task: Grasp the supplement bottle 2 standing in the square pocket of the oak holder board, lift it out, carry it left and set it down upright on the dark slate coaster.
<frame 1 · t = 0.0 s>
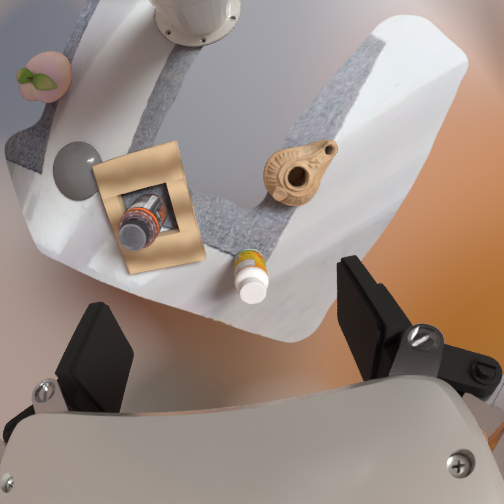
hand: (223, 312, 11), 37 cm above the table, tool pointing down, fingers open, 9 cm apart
supplement bottle: (248, 260, 53), on the table
slate coaster: (78, 170, 42), on the table
pottery oil lamp: (300, 166, 46), on the table
decorative fruit: (61, 77, 34), on the table
supplement bottle 2: (151, 209, 47), resting in holder board
holder board: (151, 209, 47), on the table
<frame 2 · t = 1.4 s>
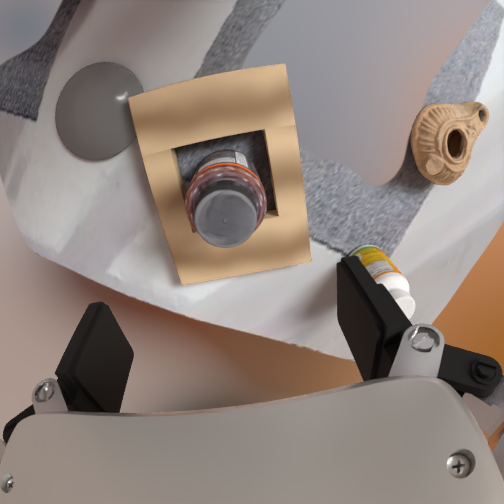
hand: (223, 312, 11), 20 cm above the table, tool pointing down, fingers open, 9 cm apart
supplement bottle: (363, 262, 35), on the table
slate coaster: (98, 110, 24), on the table
pottery oil lamp: (439, 133, 27), on the table
supplement bottle 2: (226, 176, 29), resting in holder board
holder board: (226, 177, 28), on the table
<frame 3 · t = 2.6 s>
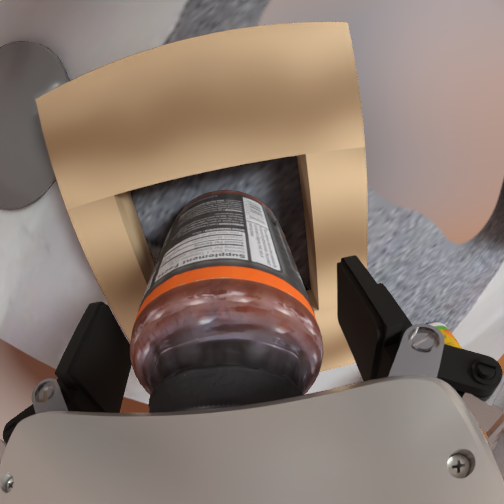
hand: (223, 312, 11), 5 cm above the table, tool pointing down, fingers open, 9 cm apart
slate coaster: (7, 125, 11), on the table
supplement bottle 2: (226, 238, 16), resting in holder board
holder board: (226, 240, 16), on the table
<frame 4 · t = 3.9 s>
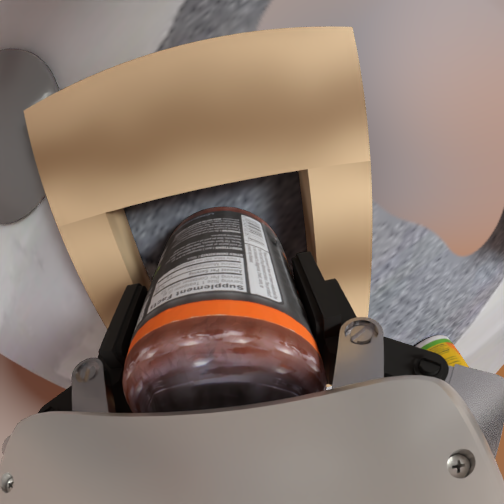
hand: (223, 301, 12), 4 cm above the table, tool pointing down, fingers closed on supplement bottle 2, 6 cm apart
supplement bottle: (422, 354, 21), on the table
supplement bottle 2: (224, 255, 15), resting in holder board, touching gripper
holder board: (224, 257, 15), on the table
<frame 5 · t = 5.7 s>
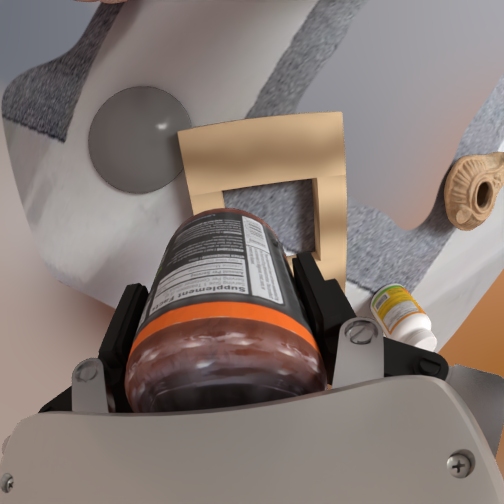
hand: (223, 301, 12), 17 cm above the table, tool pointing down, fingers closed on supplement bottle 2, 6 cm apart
supplement bottle: (387, 298, 35), on the table
slate coaster: (139, 139, 24), on the table
pottery oil lamp: (466, 179, 29), on the table
supplement bottle 2: (225, 256, 15), point 13 cm above the table, touching gripper
holder board: (271, 220, 29), on the table
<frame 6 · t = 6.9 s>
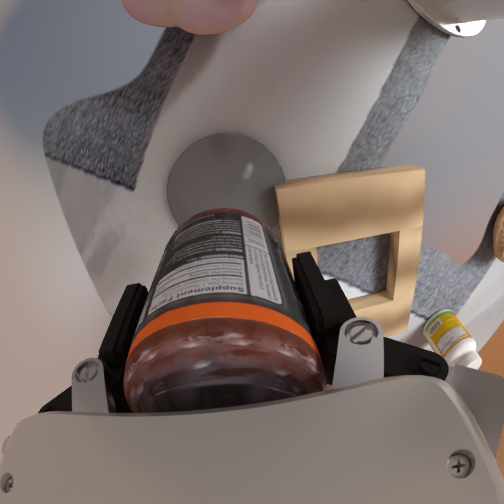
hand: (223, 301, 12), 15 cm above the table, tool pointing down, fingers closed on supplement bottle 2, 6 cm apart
supplement bottle: (436, 322, 36), on the table
slate coaster: (226, 191, 25), on the table
decorative fruit: (200, 2, 17), on the table
supplement bottle 2: (224, 257, 15), point 11 cm above the table, touching gripper
holder board: (352, 266, 30), on the table
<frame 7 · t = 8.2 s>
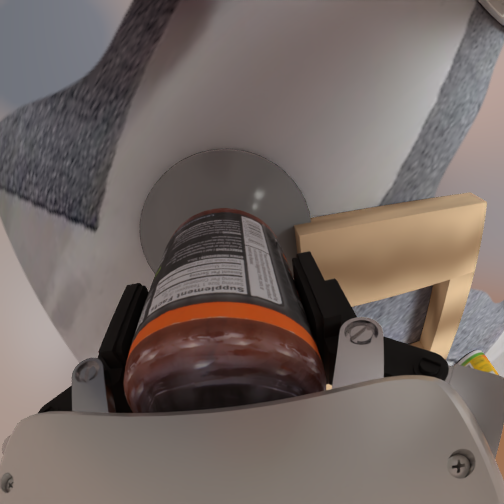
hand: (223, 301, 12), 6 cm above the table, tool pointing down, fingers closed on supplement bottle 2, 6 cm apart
supplement bottle: (465, 363, 28), on the table
slate coaster: (225, 233, 18), on the table
supplement bottle 2: (224, 257, 15), point 3 cm above the table, touching gripper
holder board: (386, 319, 22), on the table
when the fingers open (5 cm above the table, at t = 9.3 s): supplement bottle 2 drops 1 cm, resting on slate coaster.
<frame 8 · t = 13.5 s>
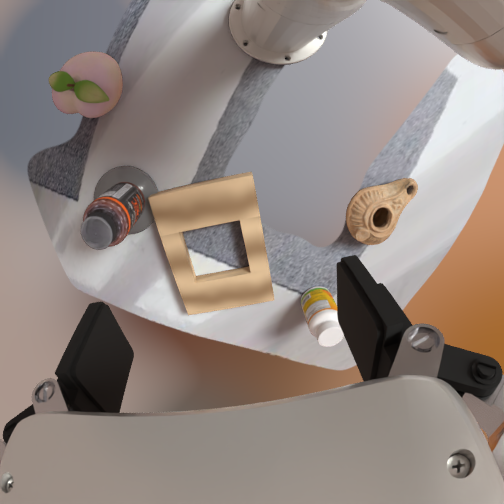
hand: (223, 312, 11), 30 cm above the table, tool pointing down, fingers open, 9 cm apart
supplement bottle: (315, 297, 50), on the table
slate coaster: (126, 200, 39), on the table
pottery oil lamp: (376, 202, 43), on the table
decorative fruit: (104, 84, 31), on the table
supplement bottle 2: (126, 200, 39), resting on slate coaster
holder board: (216, 247, 44), on the table
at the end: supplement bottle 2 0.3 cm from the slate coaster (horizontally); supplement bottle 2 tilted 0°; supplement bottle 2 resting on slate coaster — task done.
